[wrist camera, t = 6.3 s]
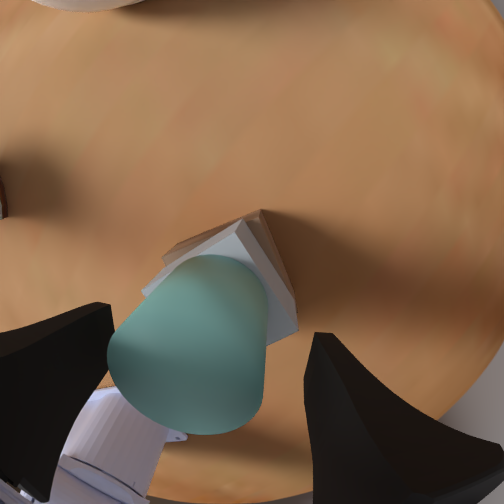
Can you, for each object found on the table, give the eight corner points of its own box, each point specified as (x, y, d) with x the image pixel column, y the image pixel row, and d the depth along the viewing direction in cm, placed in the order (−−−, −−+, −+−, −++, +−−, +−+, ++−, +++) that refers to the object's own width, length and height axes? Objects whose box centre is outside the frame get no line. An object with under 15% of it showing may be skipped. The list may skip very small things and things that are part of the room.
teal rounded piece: (196, 361, 13) (165, 441, 8) (145, 279, 12) (80, 340, 7) (285, 329, 12) (289, 417, 7) (237, 235, 11) (208, 286, 6)
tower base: (215, 316, 19) (206, 341, 16) (178, 242, 17) (161, 257, 15) (294, 289, 18) (297, 313, 15) (261, 208, 16) (258, 217, 14)
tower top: (216, 339, 16) (205, 372, 13) (164, 268, 15) (140, 290, 12) (294, 300, 15) (298, 330, 12) (242, 218, 14) (234, 232, 11)
